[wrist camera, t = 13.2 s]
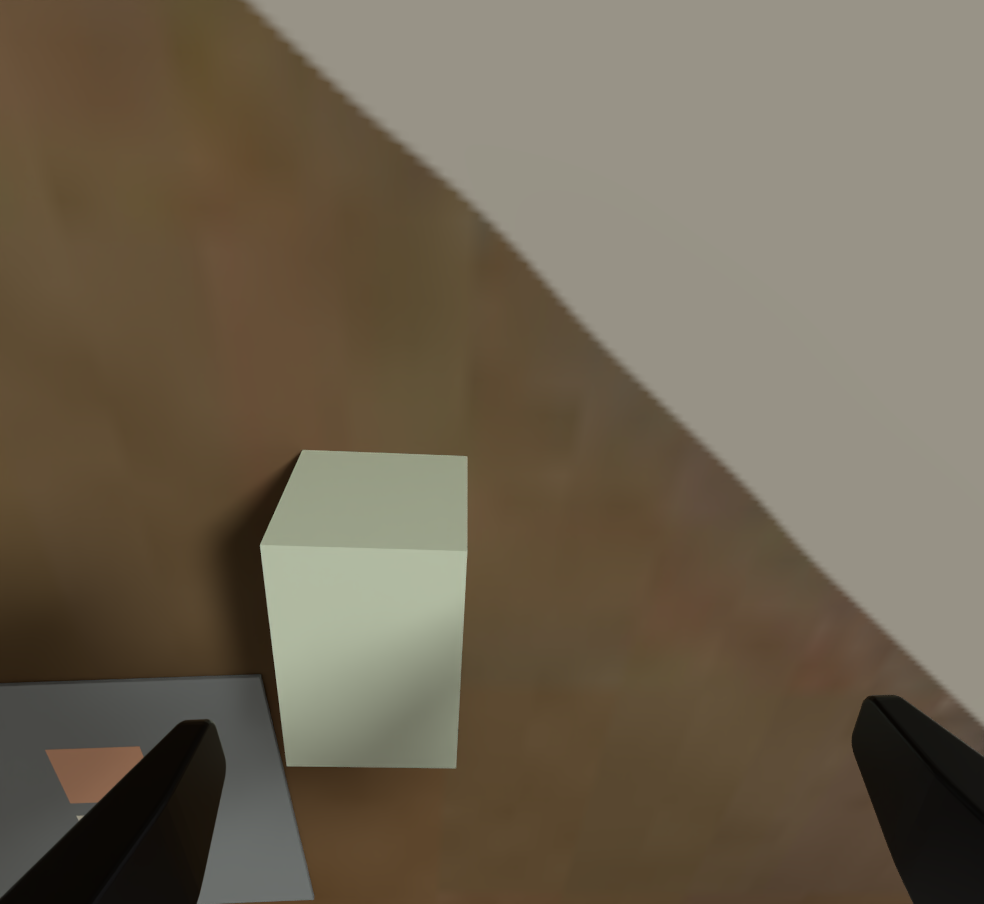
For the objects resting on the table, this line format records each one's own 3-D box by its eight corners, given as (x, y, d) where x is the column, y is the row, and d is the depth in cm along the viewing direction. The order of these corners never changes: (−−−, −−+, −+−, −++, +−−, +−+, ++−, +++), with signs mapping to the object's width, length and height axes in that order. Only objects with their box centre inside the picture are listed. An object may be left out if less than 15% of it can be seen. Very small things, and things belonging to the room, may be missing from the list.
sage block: (467, 453, 21) (467, 551, 17) (458, 647, 25) (455, 768, 21) (303, 448, 21) (259, 544, 17) (318, 644, 25) (286, 766, 20)
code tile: (261, 673, 25) (259, 677, 25) (314, 894, 32) (313, 899, 32) (-128, 686, 25) (-132, 691, 25) (7, 907, 32) (4, 912, 32)
